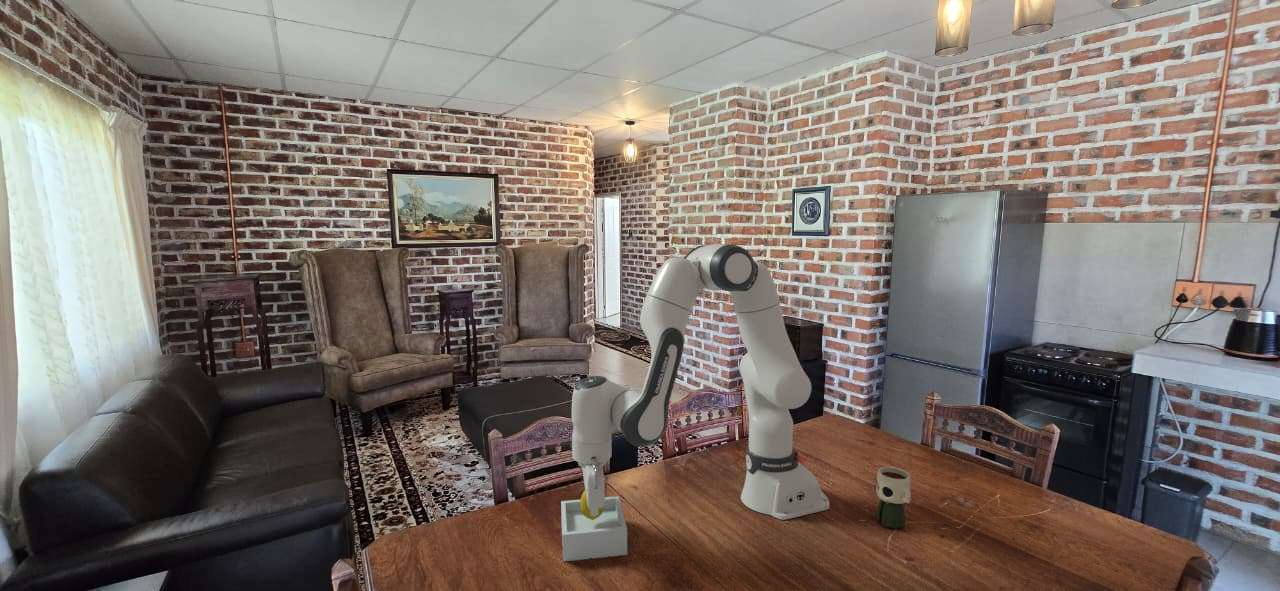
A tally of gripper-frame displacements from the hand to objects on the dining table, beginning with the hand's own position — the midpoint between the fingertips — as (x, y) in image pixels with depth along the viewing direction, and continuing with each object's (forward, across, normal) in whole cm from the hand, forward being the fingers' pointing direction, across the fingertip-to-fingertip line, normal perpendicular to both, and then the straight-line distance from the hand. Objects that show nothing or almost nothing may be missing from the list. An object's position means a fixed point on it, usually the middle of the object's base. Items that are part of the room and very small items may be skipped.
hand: (592, 506), depth 120 cm
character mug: (+9, -6, -72) cm, 73 cm away
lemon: (+4, 0, 0) cm, 4 cm away
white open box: (+8, 0, 0) cm, 9 cm away
